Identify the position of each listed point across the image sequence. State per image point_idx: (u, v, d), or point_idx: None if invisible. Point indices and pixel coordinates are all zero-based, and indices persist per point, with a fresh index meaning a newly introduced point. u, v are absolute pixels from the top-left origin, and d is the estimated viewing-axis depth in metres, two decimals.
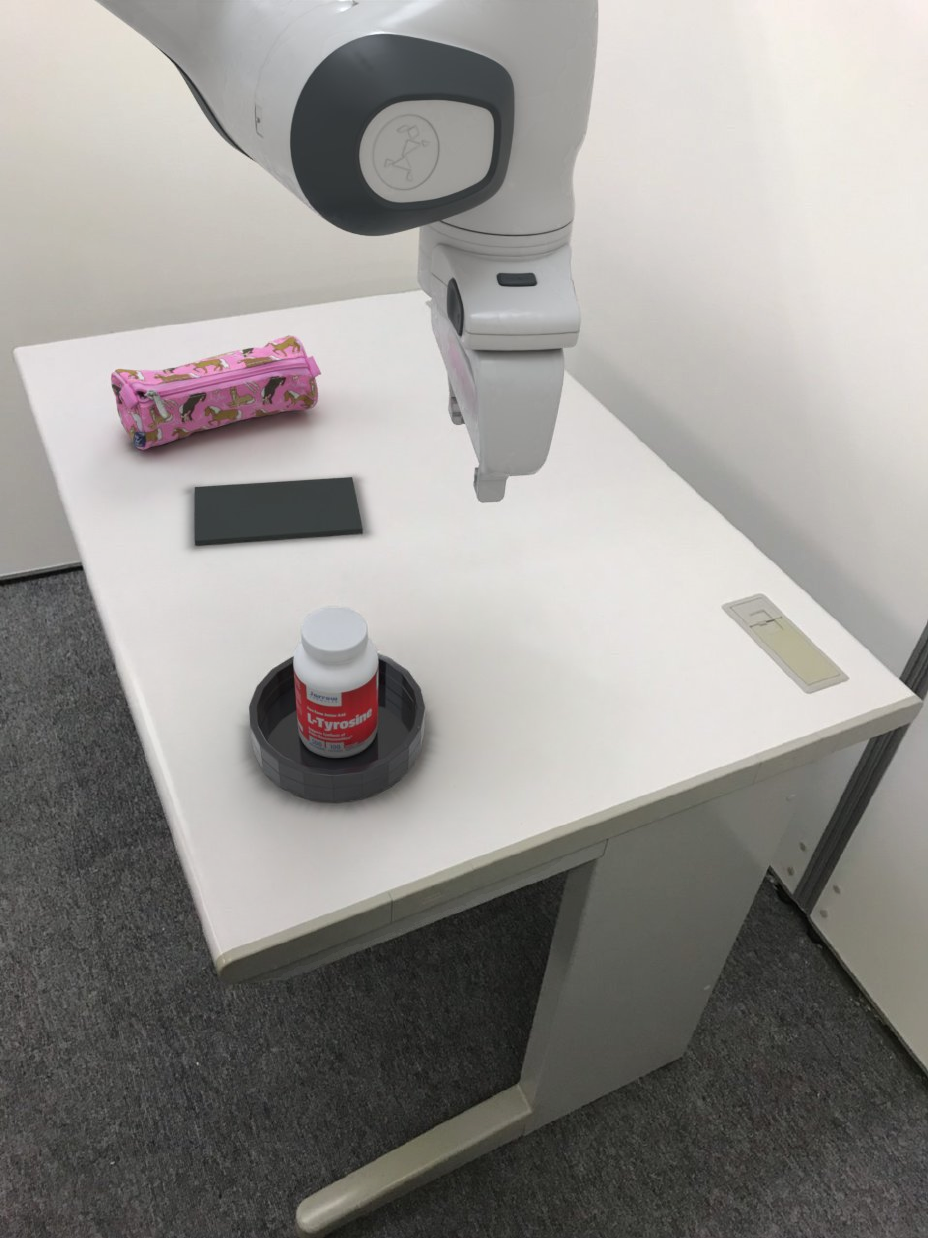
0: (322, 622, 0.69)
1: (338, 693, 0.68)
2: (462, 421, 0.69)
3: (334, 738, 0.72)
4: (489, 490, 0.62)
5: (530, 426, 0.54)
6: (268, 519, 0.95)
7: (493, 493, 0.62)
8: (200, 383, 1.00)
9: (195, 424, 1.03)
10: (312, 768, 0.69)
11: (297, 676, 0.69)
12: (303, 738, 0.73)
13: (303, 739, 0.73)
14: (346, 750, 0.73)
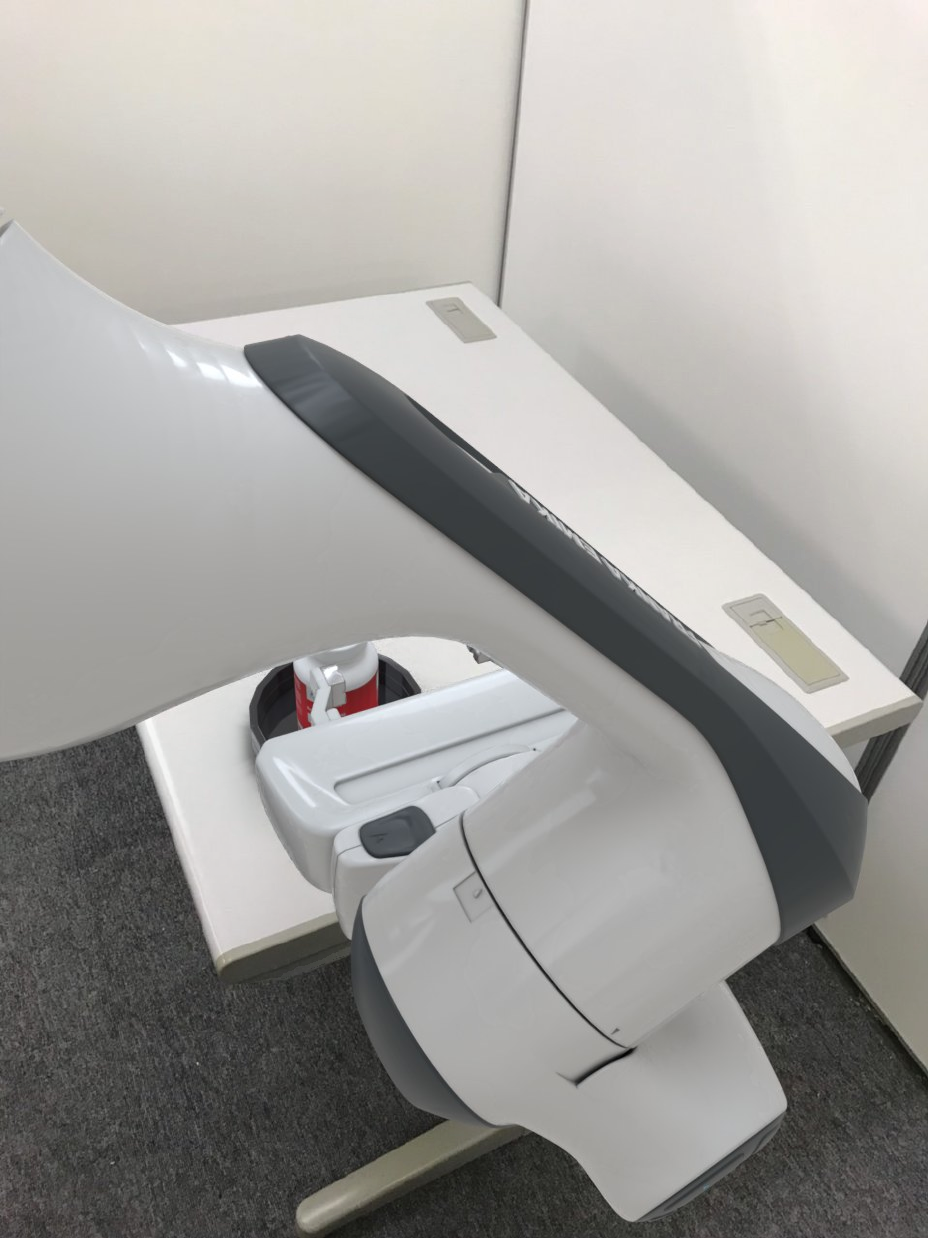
0: None
1: None
2: None
3: None
4: (315, 687, 0.52)
5: (278, 827, 0.46)
6: None
7: (313, 688, 0.52)
8: None
9: None
10: None
11: (297, 676, 0.69)
12: None
13: None
14: None
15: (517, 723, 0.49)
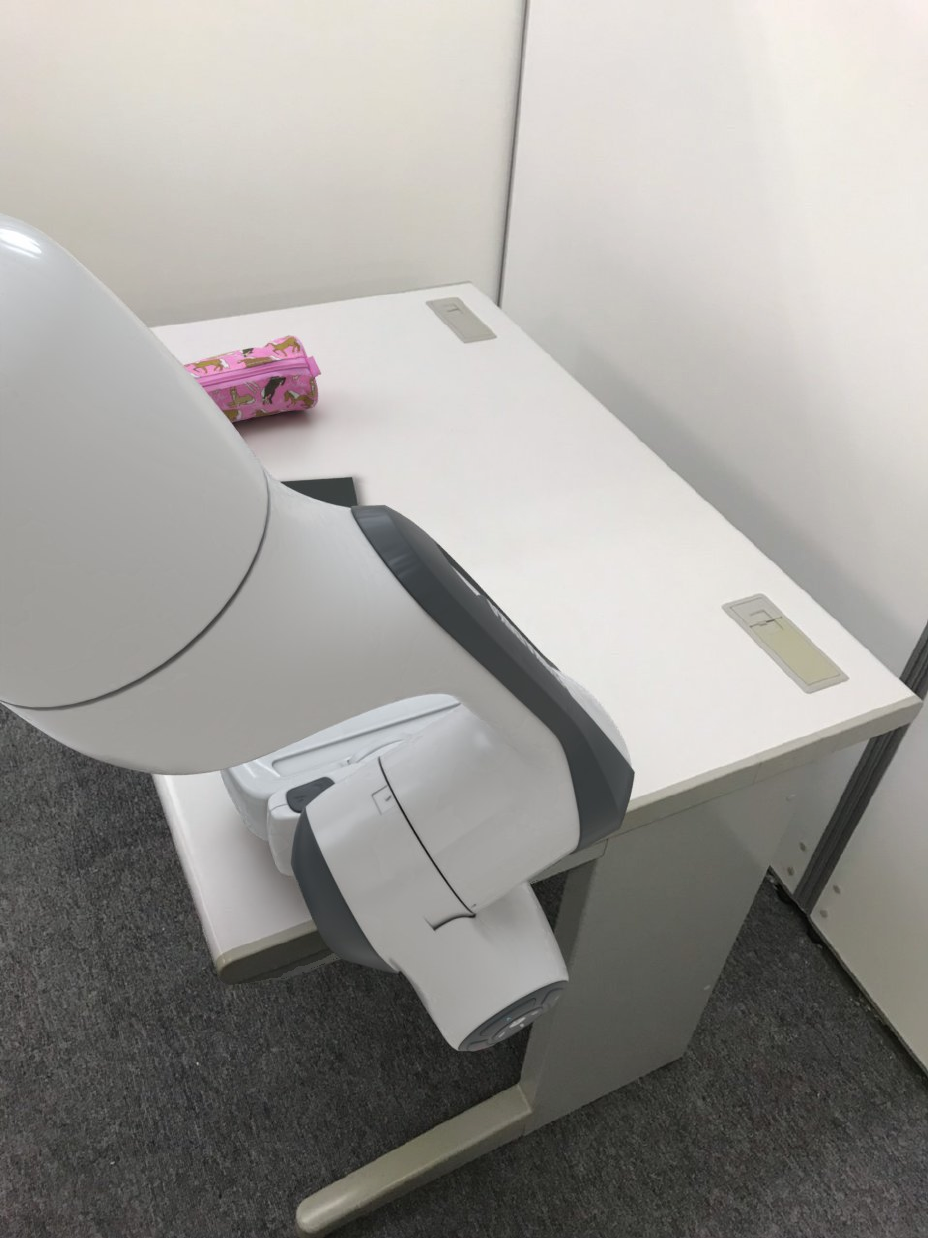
0: None
1: None
2: None
3: None
4: None
5: (232, 793, 0.63)
6: None
7: None
8: (200, 383, 1.00)
9: None
10: None
11: None
12: None
13: None
14: None
15: (411, 718, 0.66)
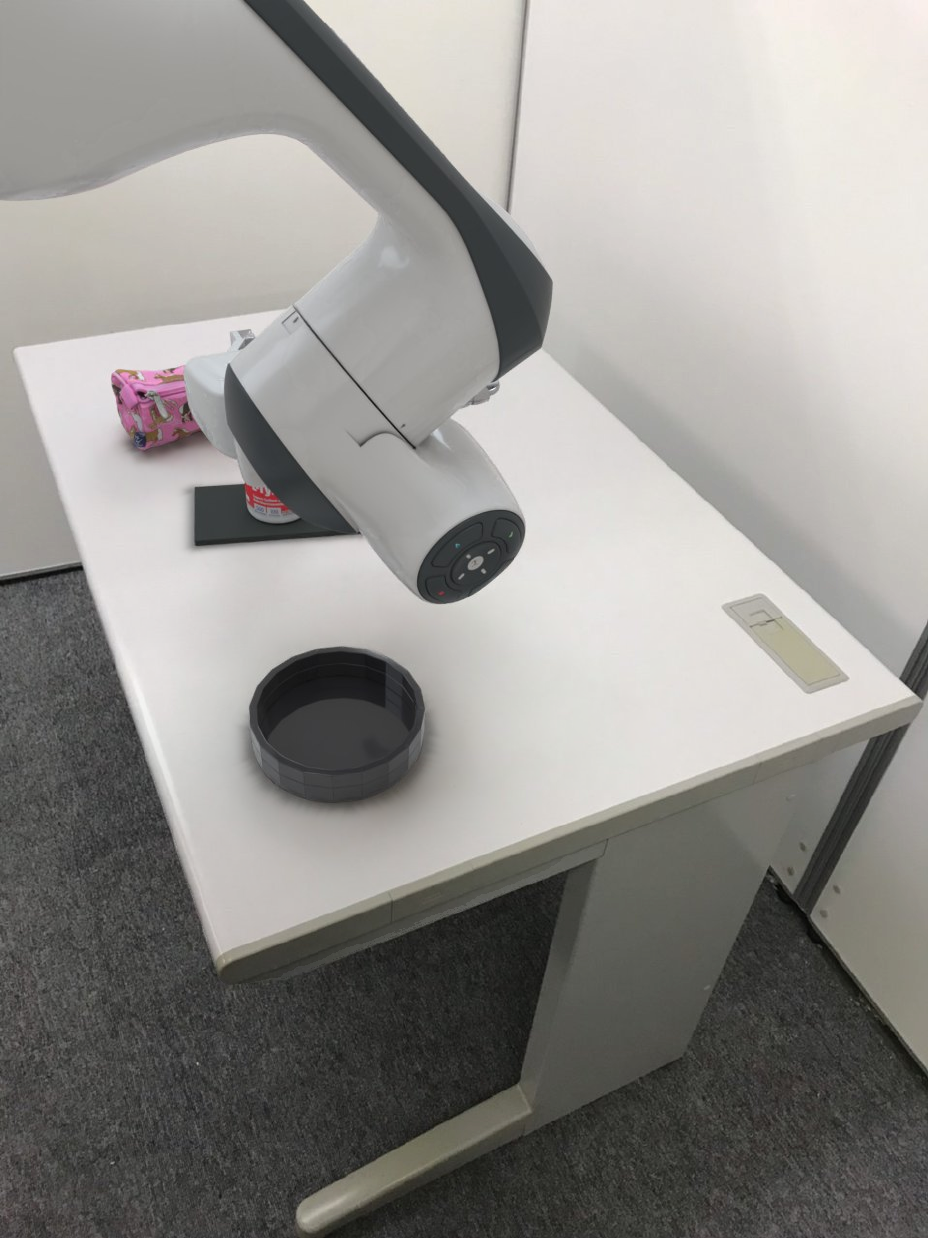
0: None
1: None
2: None
3: (273, 503, 0.92)
4: None
5: (199, 414, 0.64)
6: None
7: None
8: None
9: (196, 424, 1.03)
10: (312, 768, 0.69)
11: None
12: (250, 507, 0.94)
13: (250, 508, 0.94)
14: (283, 515, 0.94)
15: None
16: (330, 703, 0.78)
